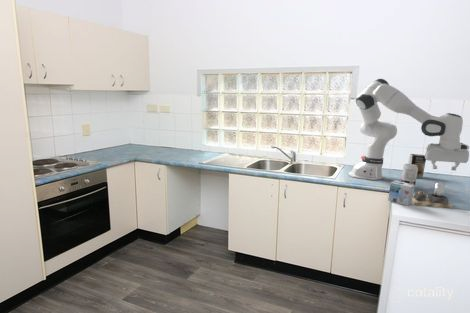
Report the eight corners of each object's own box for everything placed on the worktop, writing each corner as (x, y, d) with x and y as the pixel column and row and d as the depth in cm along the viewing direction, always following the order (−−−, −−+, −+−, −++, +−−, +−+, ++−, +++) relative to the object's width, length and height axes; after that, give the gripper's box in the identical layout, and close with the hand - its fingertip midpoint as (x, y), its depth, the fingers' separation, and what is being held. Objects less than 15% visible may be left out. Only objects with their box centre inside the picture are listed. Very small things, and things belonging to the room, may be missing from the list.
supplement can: (397, 186, 205) (400, 163, 201) (406, 185, 207) (410, 163, 204) (407, 190, 197) (411, 167, 194) (417, 189, 200) (421, 166, 197)
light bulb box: (387, 200, 178) (390, 182, 176) (392, 197, 183) (394, 179, 180) (408, 206, 171) (411, 187, 168) (412, 203, 175) (415, 184, 173)
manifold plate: (415, 205, 173) (417, 194, 171) (407, 197, 184) (409, 187, 183) (451, 208, 170) (453, 197, 168) (441, 200, 181) (443, 190, 180)
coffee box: (409, 177, 227) (412, 155, 224) (406, 174, 233) (409, 153, 230) (423, 178, 226) (426, 156, 222) (419, 176, 232) (423, 154, 228)
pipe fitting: (434, 201, 174) (437, 184, 172) (431, 199, 178) (434, 182, 176) (443, 202, 173) (446, 185, 171) (439, 199, 178) (442, 182, 175)
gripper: (430, 144, 168) (425, 169, 171) (472, 146, 164) (467, 172, 167) (425, 142, 174) (421, 166, 177) (466, 144, 170) (461, 169, 173)
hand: (443, 169), depth 172 cm, fingers open, 8 cm apart
